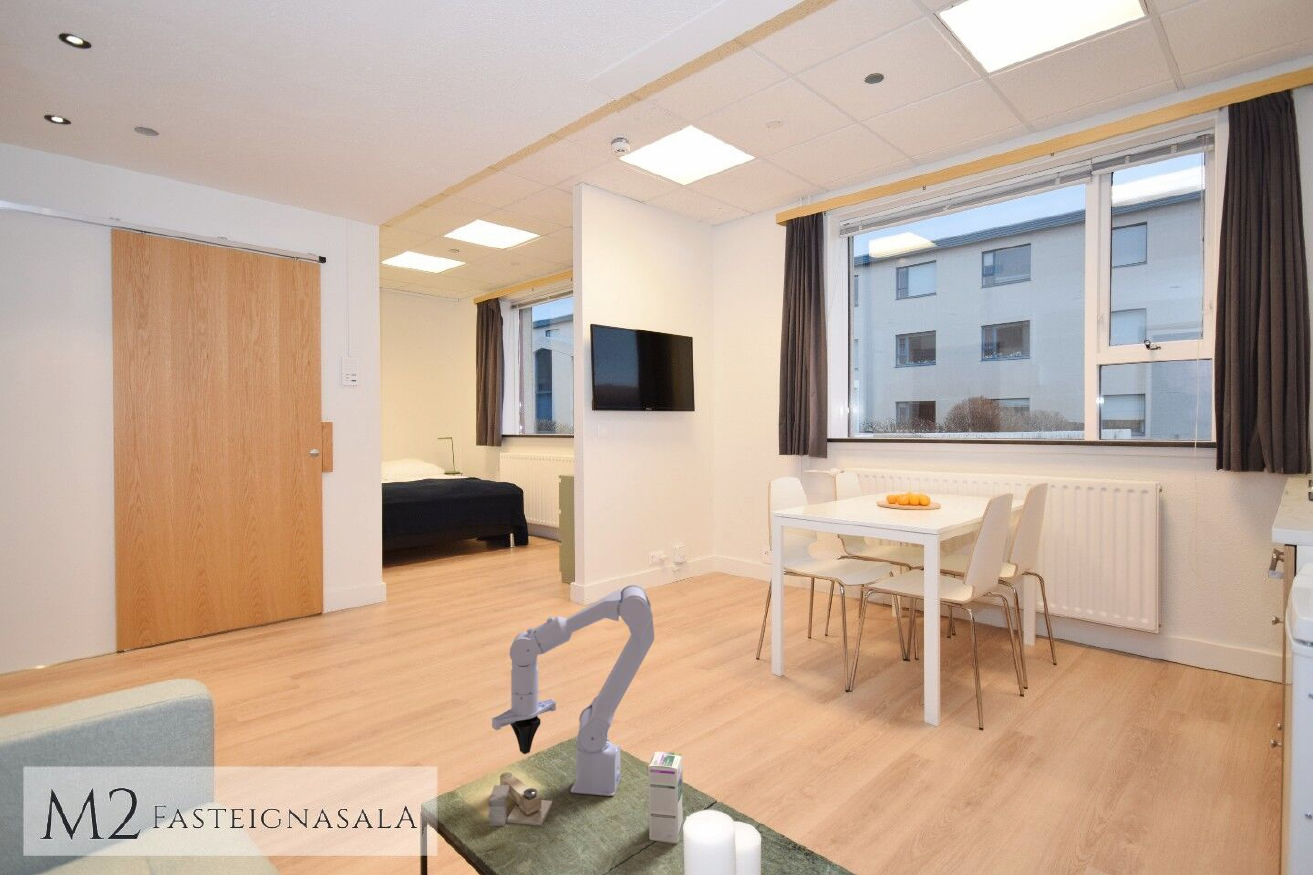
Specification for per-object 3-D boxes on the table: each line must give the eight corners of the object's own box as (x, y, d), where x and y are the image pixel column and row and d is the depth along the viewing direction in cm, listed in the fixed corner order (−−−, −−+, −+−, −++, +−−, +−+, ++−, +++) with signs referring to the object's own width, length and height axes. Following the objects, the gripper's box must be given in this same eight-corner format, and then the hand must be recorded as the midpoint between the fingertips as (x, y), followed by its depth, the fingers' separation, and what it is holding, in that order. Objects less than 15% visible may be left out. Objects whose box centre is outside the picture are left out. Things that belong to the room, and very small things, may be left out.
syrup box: (678, 844, 122) (678, 768, 121) (647, 840, 123) (647, 764, 122) (683, 825, 127) (683, 752, 127) (654, 822, 128) (654, 749, 128)
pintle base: (552, 804, 134) (552, 783, 134) (541, 825, 127) (541, 803, 127) (520, 801, 135) (519, 780, 135) (507, 822, 128) (507, 800, 128)
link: (541, 808, 131) (541, 796, 131) (527, 814, 129) (527, 802, 129) (510, 781, 141) (510, 770, 141) (496, 787, 139) (496, 775, 138)
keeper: (509, 809, 133) (509, 784, 132) (504, 825, 127) (504, 800, 127) (494, 809, 132) (494, 785, 132) (489, 826, 127) (489, 800, 127)
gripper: (544, 675, 148) (543, 734, 148) (485, 692, 138) (485, 755, 139) (561, 685, 142) (560, 745, 143) (501, 703, 133) (501, 769, 133)
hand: (524, 751), depth 140 cm, fingers closed
